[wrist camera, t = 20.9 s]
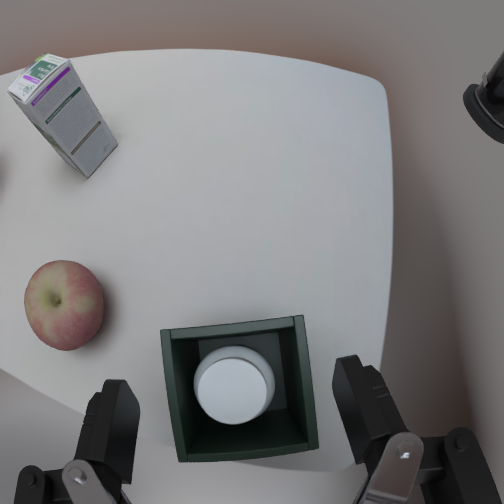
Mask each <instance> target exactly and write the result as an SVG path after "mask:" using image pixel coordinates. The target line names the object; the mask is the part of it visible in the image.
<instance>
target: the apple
mask: <svg viewBox="0 0 504 504" xmlns="http://www.w3.org/2000/svg"><path fill="white" fill-rule="evenodd" d="M24 305H25V312H26V316H27V319H28V321H29V324H30V326H31V328H32V330H33V331H34V333H35V334H36V335H37V337H38V338H39V339H40V340H41V341H43V342H44V343H45V344H47V345H49V346H51V347H53V348H56V349H58V350H64V351H70V350H74V349H77V348H79V347H81V346H82V345H84V344H85V343H87V342H88V341H89V340H90V339H91V338H92V337H93V336H94V335H95V333H96V332H97V331H98V329H99V327H100V325H101V322H102V319H103V308H104V303H103V294H102V290H101V287H100V285H99V283H98V281H97V279H96V277H95V276H94V275H93V273H92V272H91V271H90V270H88V269H87V268H86V267H84V266H83V265H81V264H79V263H76V262H72V261H64V260H60V261H53V262H49V263H47V264H45V265H43V266H42V267H40V268H39V269H38V270H37V271H36V272H35V273H34V274H33V276H32V277H31V279H30V281H29V283H28V286H27V288H26V291H25V297H24Z"/></svg>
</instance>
